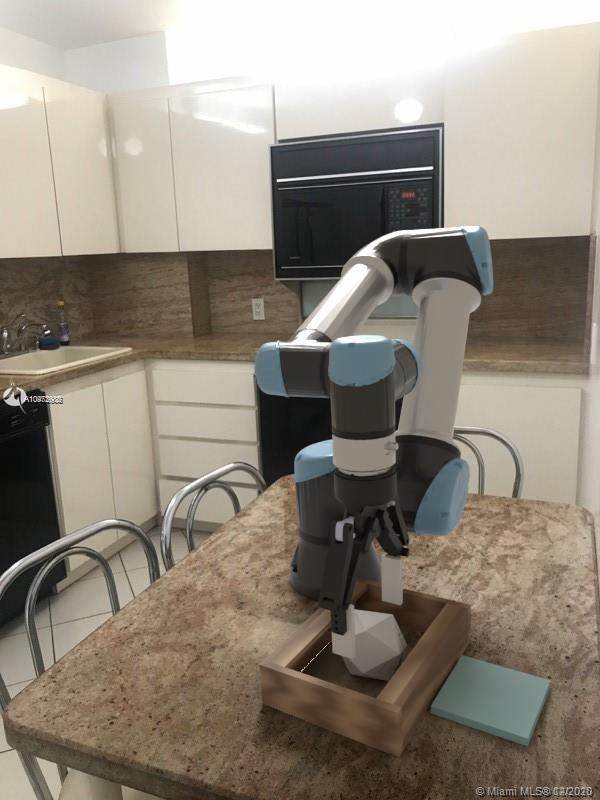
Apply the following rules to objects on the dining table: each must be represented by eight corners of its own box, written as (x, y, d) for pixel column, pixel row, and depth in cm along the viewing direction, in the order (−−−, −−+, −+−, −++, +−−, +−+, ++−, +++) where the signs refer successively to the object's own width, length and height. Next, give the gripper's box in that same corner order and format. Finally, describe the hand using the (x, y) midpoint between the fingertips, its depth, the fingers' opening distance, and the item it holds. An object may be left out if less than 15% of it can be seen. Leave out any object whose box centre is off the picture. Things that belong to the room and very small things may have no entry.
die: (370, 708, 80) (415, 644, 79) (315, 659, 83) (357, 597, 82) (384, 689, 87) (425, 630, 87) (333, 645, 90) (373, 588, 90)
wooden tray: (262, 704, 81) (259, 664, 79) (354, 609, 100) (352, 576, 99) (399, 757, 71) (397, 713, 70) (470, 641, 91) (470, 604, 89)
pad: (431, 713, 77) (430, 706, 77) (462, 661, 86) (462, 655, 86) (527, 746, 71) (527, 738, 71) (550, 687, 80) (550, 680, 80)
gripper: (342, 506, 67) (349, 691, 71) (432, 442, 87) (434, 589, 92) (280, 495, 71) (291, 671, 75) (381, 436, 91) (384, 577, 96)
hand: (369, 626), depth 84 cm, fingers open, 13 cm apart
